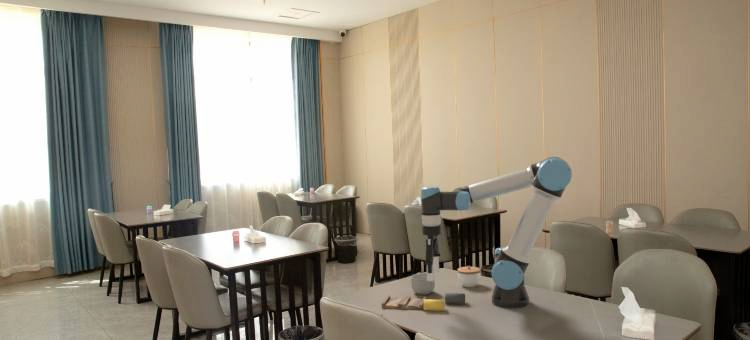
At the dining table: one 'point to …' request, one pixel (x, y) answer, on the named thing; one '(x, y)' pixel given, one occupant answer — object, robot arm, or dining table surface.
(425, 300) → the yellow foam roll
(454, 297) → the gray cylinder
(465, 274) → the lidded jar
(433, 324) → the dining table surface
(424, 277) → the teacup
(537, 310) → the dining table surface
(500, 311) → the dining table surface
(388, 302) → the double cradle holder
